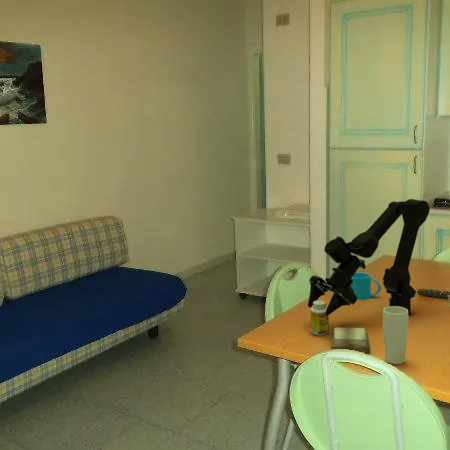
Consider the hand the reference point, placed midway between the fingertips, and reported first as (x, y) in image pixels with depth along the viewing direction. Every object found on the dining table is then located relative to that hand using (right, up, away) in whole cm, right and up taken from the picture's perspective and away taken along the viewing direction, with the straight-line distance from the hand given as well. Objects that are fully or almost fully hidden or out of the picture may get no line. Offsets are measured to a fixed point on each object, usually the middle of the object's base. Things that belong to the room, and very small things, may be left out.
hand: (317, 310), depth 185 cm
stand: (+8, -9, -9) cm, 15 cm away
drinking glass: (+18, -11, -21) cm, 30 cm away
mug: (+23, 0, +35) cm, 42 cm away
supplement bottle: (+1, -7, +2) cm, 8 cm away
